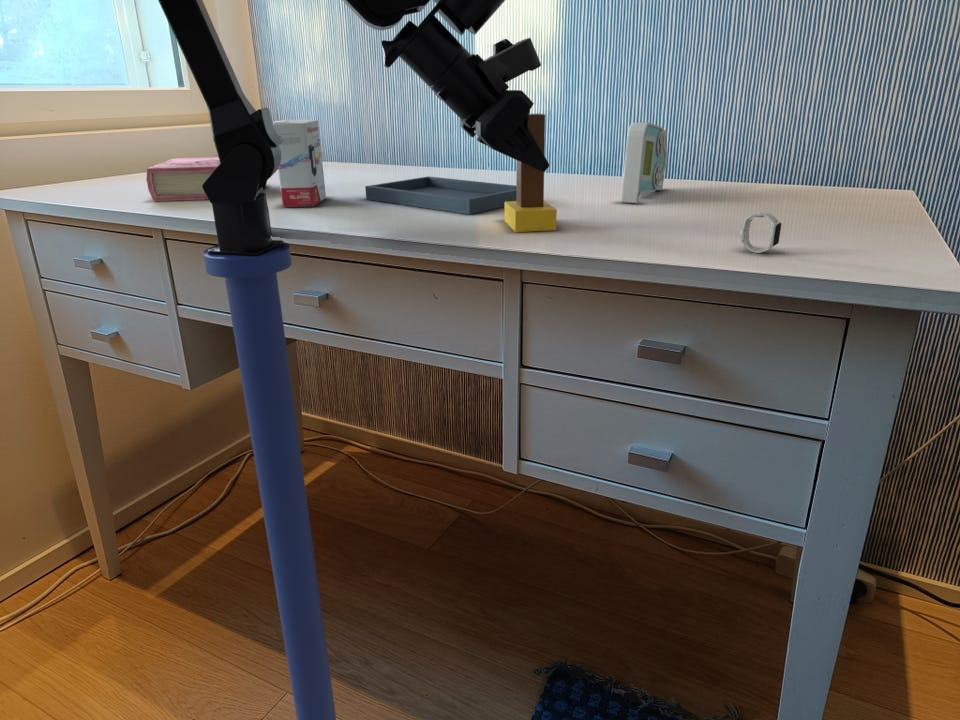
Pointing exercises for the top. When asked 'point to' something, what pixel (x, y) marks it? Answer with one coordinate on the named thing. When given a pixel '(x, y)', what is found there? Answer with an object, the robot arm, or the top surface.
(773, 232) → the smartwatch
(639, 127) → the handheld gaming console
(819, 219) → the top surface
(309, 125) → the ink box
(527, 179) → the sponge brush
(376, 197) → the tray
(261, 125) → the robot arm
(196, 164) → the book
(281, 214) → the top surface
